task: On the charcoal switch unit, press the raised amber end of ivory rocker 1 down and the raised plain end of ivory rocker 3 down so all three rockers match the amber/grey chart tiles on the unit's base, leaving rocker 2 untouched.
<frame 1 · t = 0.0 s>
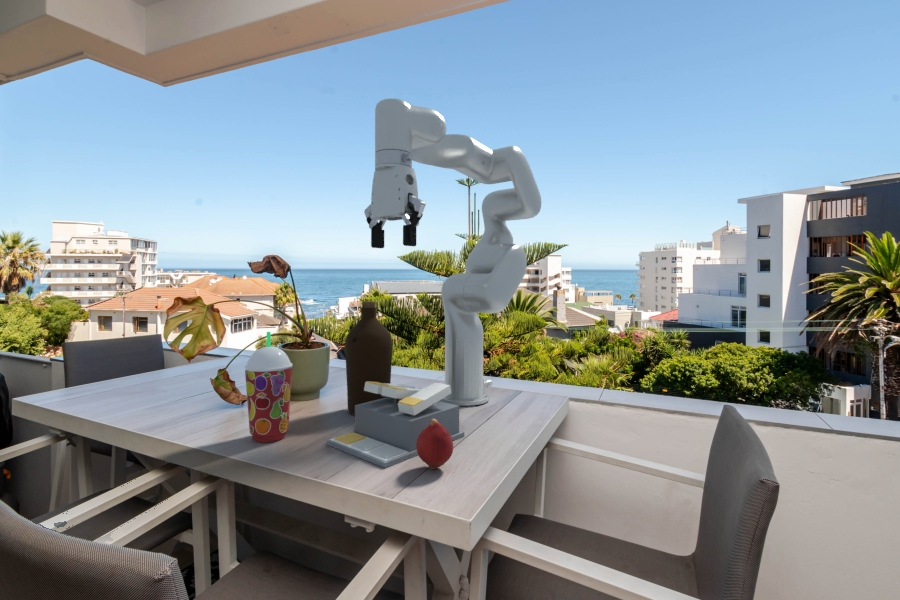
hand: (393, 246, 95), 37 cm above the table, tool pointing down, fingers open, 9 cm apart
switch unit: (397, 440, 85), on the table
rocker 1: (390, 390, 90), point 8 cm above the table, hinge at -12.0°
rocker 2: (407, 395, 87), point 8 cm above the table, hinge at -12.0°
onion: (434, 470, 72), on the table
smoothie: (269, 438, 86), on the table
rocker 3: (425, 400, 84), point 8 cm above the table, hinge at 12.0°
olive oil: (369, 411, 105), on the table
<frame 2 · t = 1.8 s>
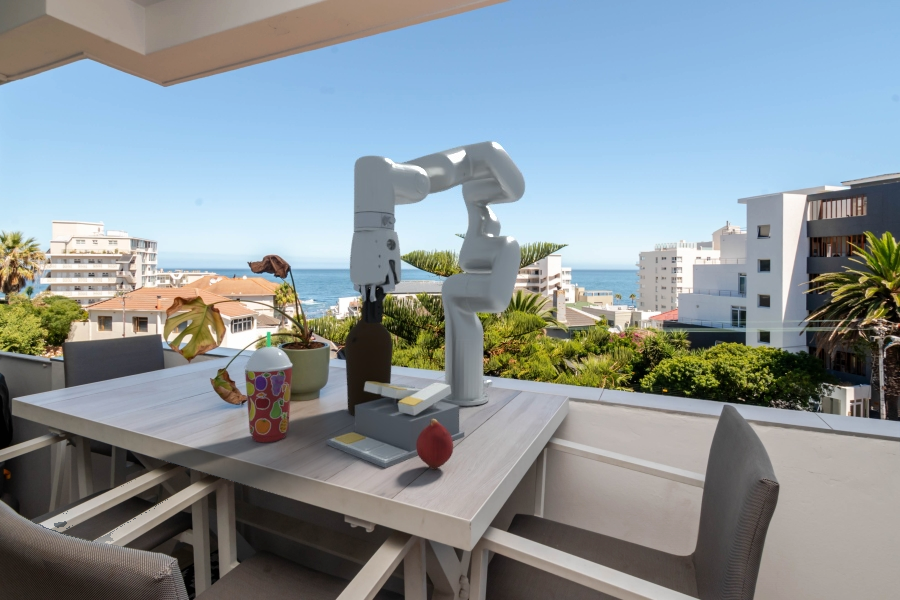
hand: (373, 322, 86), 22 cm above the table, tool pointing down, fingers closed
nothing on the table moved.
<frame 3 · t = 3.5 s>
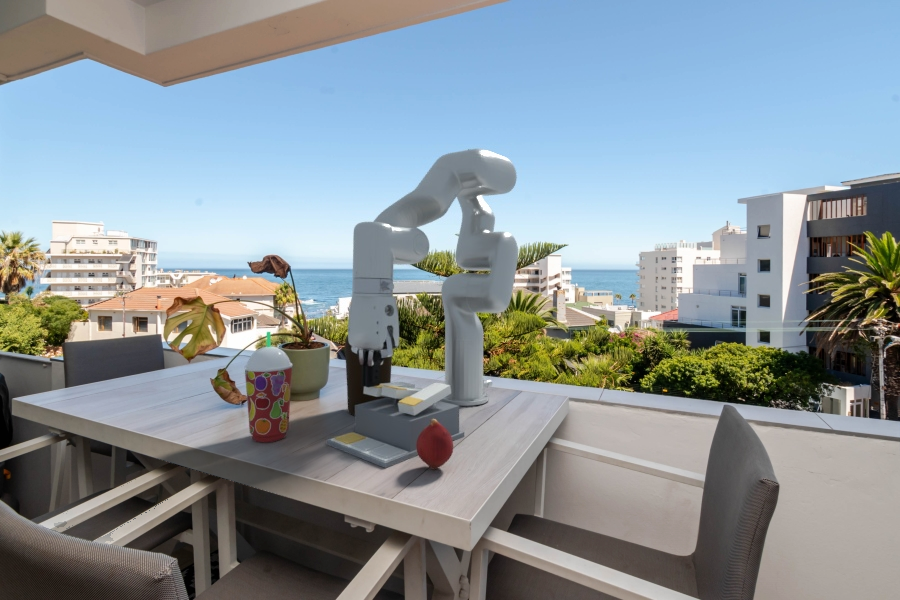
hand: (370, 385, 86), 10 cm above the table, tool pointing down, fingers closed
rocker 1: (389, 390, 90), point 8 cm above the table, hinge at -5.7°, touching gripper
everything else where it was.
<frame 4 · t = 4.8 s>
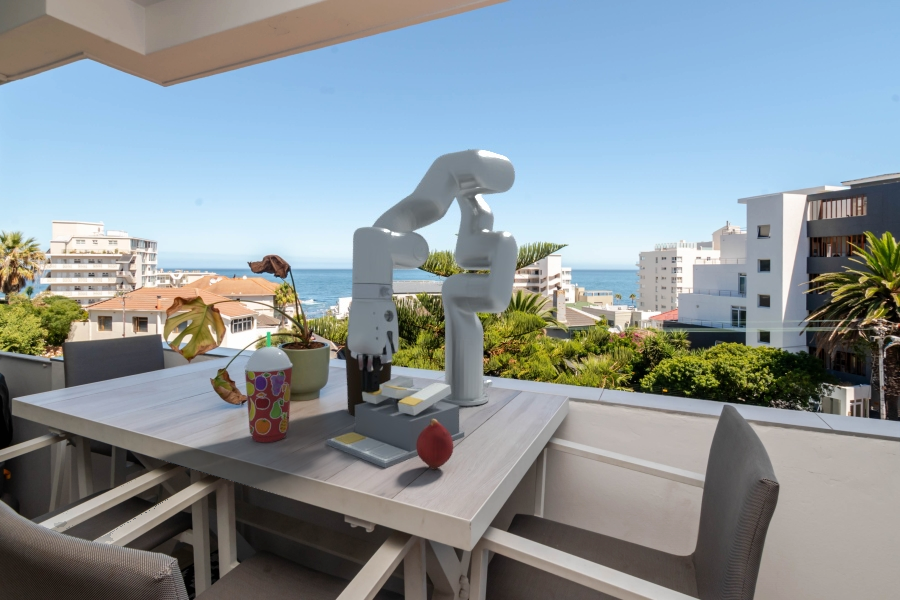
hand: (370, 390, 86), 9 cm above the table, tool pointing down, fingers closed
rocker 1: (388, 391, 90), point 8 cm above the table, hinge at 9.7°, touching gripper
everything else where it was.
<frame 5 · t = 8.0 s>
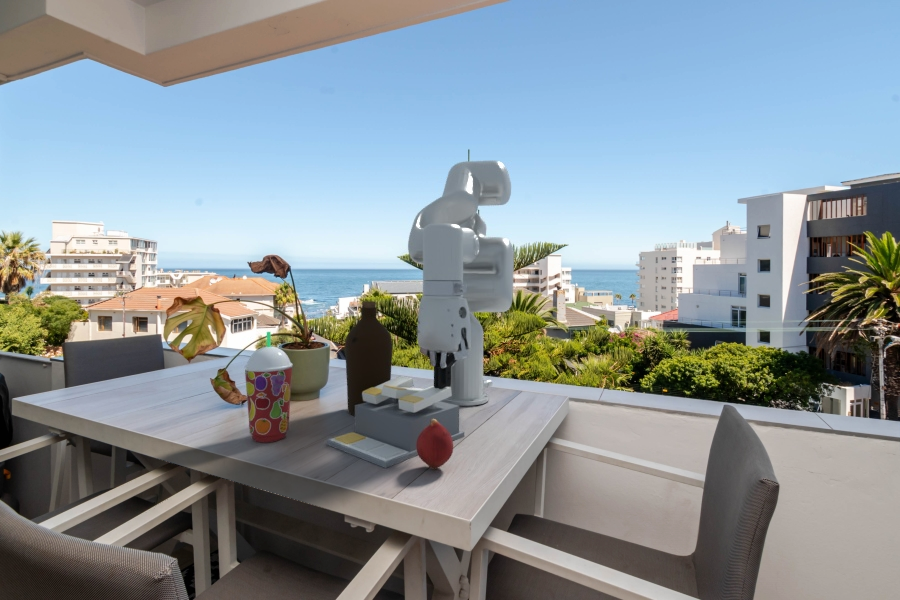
hand: (442, 386, 87), 10 cm above the table, tool pointing down, fingers closed
rocker 1: (388, 391, 90), point 8 cm above the table, hinge at 10.2°
rocker 3: (426, 399, 84), point 8 cm above the table, hinge at 6.2°, touching gripper
everything else where it was.
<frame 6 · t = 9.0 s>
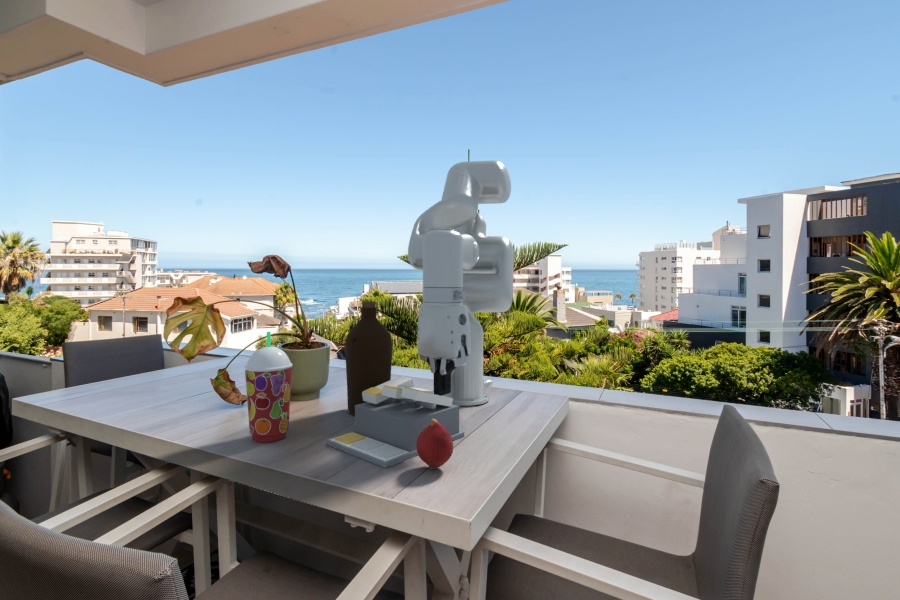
hand: (442, 393, 87), 8 cm above the table, tool pointing down, fingers closed
rocker 3: (427, 399, 84), point 8 cm above the table, hinge at -18.0°, touching gripper
everything else where it was.
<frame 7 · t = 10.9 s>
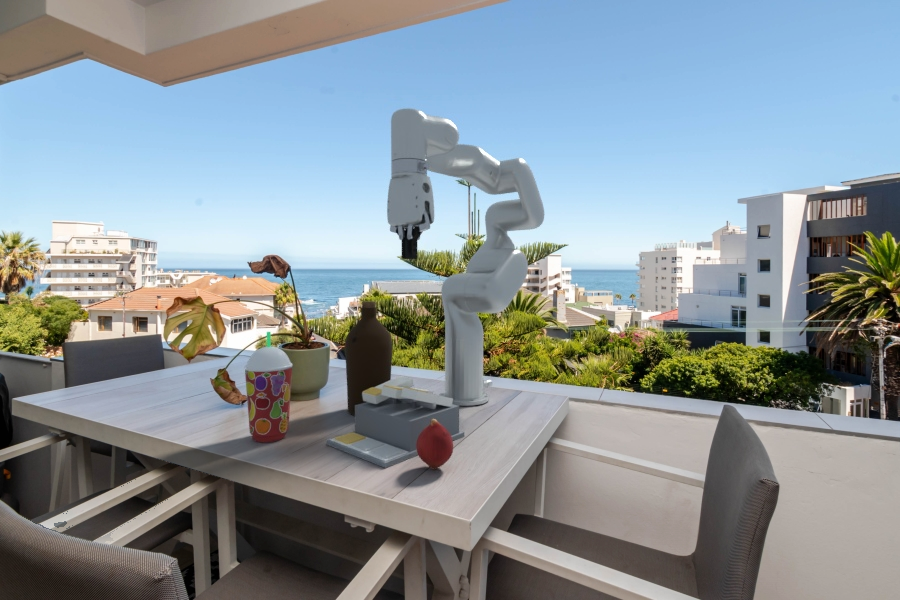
hand: (409, 258, 98), 34 cm above the table, tool pointing down, fingers closed
rocker 3: (427, 399, 84), point 8 cm above the table, hinge at -18.5°, touching switch unit
everything else where it was.
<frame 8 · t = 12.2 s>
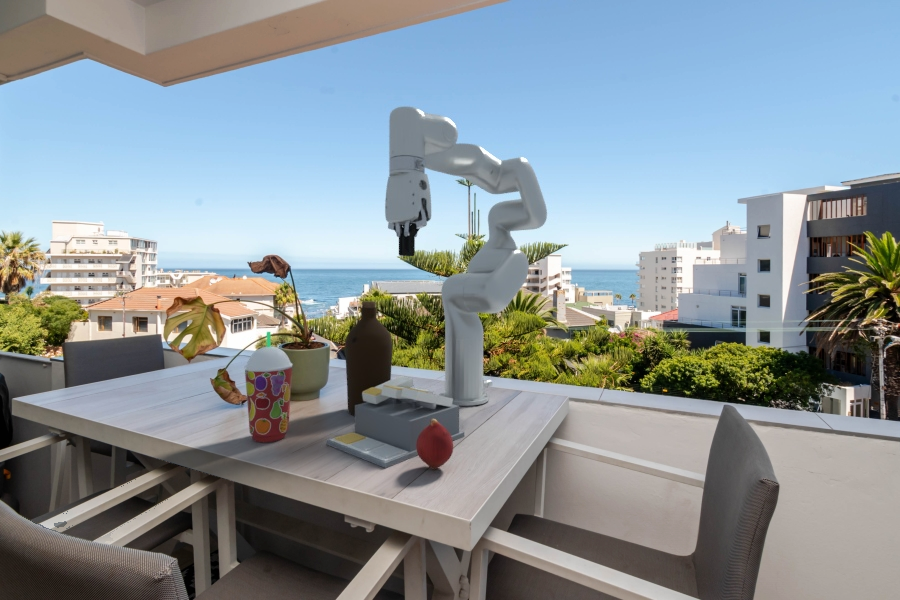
hand: (406, 255, 98), 35 cm above the table, tool pointing down, fingers closed
nothing on the table moved.
at the end: rocker 1 at +10° (first picture: -12°); rocker 3 at -18° (first picture: +12°); rocker 2 at -12° (first picture: -12°) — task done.
